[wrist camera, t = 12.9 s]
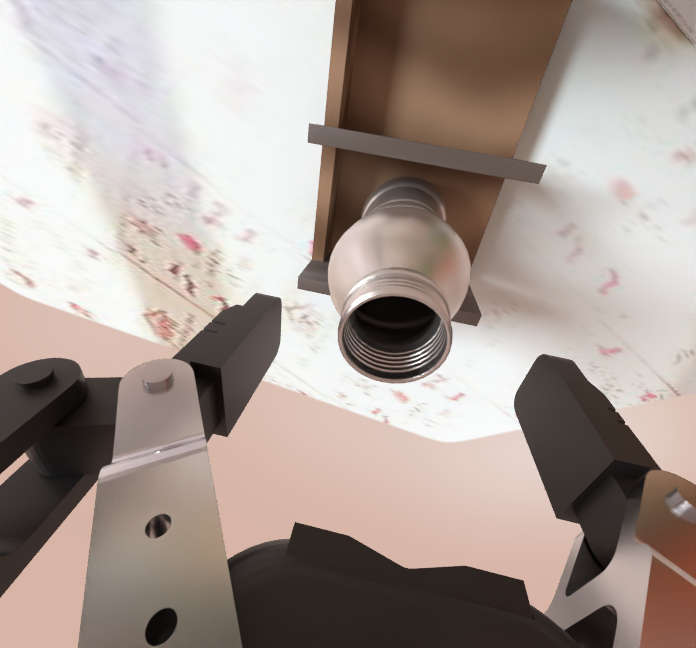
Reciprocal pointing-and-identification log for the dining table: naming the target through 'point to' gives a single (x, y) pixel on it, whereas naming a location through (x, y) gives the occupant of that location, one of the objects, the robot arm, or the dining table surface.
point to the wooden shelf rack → (428, 110)
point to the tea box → (682, 15)
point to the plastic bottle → (398, 283)
